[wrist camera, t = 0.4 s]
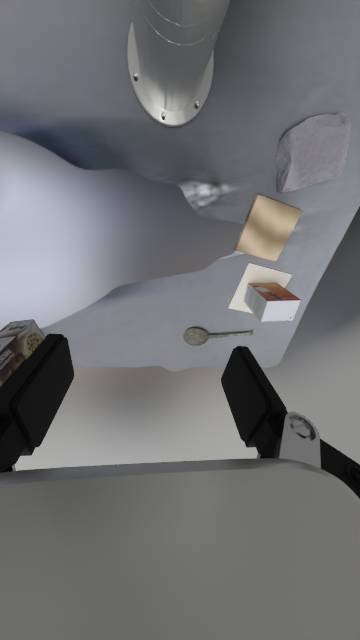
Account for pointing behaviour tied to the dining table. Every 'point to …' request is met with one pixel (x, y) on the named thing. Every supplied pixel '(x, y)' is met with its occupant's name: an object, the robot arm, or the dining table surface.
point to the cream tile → (256, 276)
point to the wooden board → (267, 228)
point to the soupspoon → (204, 336)
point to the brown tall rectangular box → (17, 345)
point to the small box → (271, 302)
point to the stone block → (313, 151)
